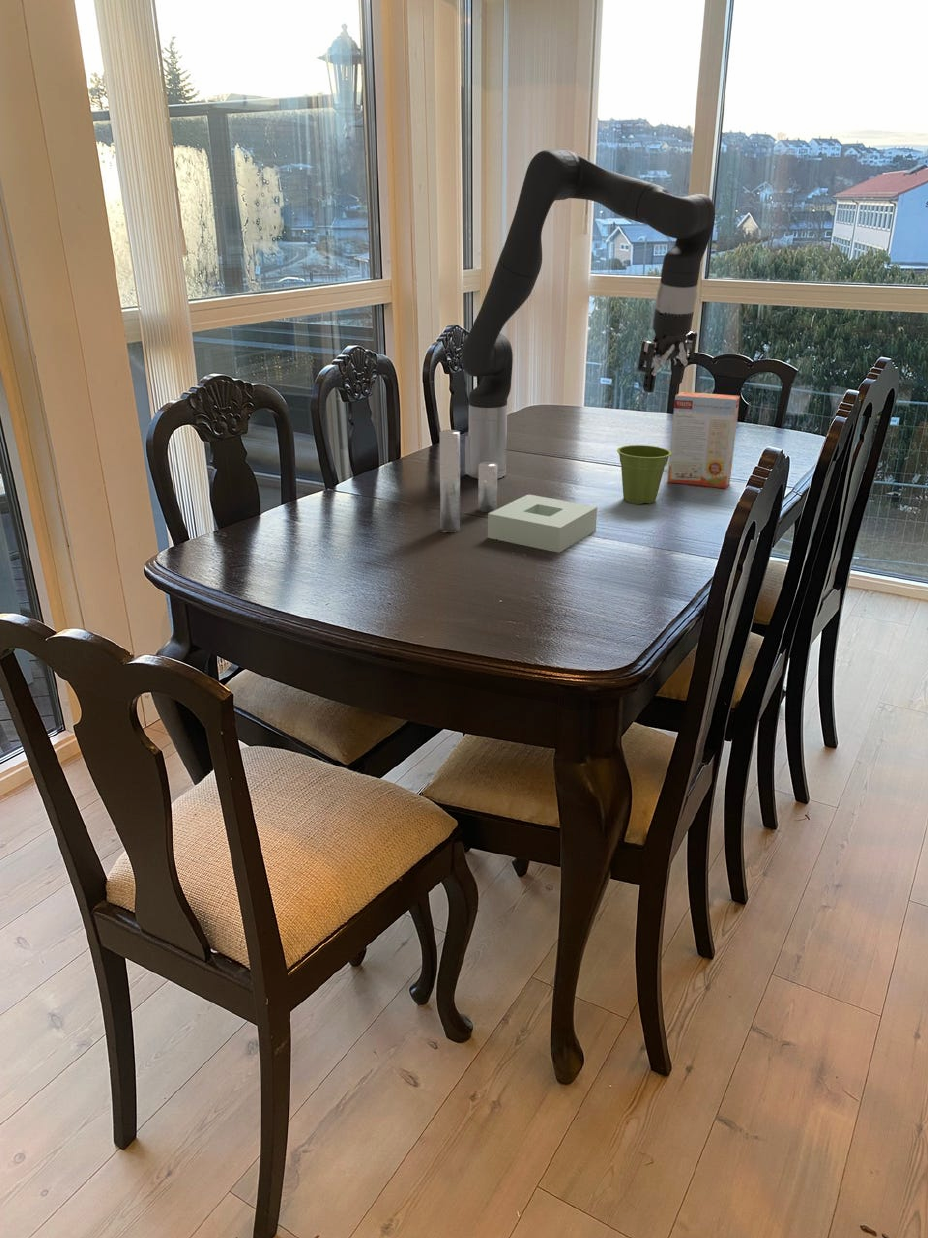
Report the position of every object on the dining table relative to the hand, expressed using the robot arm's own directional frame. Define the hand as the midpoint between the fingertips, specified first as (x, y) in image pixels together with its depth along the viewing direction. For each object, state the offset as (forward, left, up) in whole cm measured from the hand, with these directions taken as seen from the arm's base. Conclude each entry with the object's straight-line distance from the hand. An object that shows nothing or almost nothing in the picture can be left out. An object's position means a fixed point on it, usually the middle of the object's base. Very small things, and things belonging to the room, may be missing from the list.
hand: (662, 387), depth 186 cm
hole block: (-12, -27, -26) cm, 40 cm away
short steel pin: (-30, -19, -26) cm, 44 cm away
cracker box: (+1, +27, -27) cm, 38 cm away
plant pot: (-5, +6, -27) cm, 28 cm away
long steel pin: (-29, -35, -26) cm, 53 cm away
